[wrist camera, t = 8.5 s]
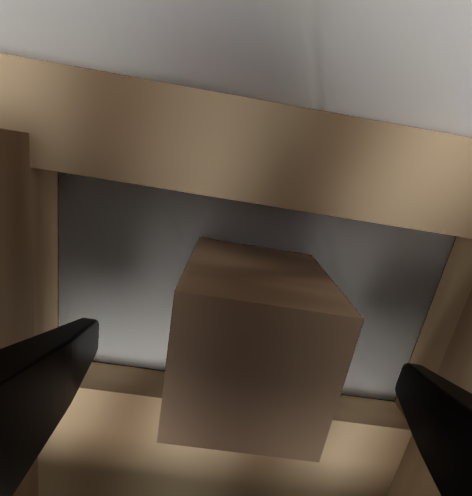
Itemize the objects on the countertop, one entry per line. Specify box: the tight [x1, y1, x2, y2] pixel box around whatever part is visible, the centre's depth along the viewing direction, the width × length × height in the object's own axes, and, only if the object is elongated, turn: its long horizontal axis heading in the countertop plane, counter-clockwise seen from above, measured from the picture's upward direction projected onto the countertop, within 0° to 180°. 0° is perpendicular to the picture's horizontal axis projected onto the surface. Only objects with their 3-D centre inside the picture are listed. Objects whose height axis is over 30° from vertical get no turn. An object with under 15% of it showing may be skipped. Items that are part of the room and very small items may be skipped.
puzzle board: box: [0, 53, 472, 496], centre depth 10 cm, size 28×23×6 cm
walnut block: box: [157, 237, 364, 462], centre depth 10 cm, size 4×4×5 cm
